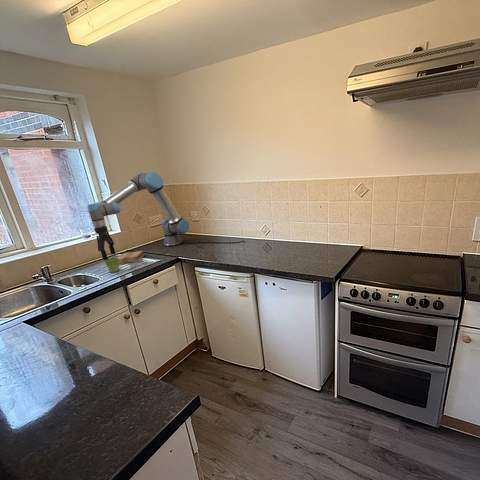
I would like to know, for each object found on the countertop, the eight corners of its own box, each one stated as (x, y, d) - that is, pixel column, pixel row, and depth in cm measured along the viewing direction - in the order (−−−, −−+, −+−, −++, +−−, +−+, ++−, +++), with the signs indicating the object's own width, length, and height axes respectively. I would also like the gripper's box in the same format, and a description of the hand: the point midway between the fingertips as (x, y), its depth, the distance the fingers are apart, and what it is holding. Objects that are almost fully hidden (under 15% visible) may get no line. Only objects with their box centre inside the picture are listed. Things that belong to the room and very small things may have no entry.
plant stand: (144, 255, 241) (143, 250, 239) (138, 261, 226) (137, 256, 224) (124, 258, 239) (123, 253, 238) (117, 264, 225) (115, 259, 223)
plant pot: (110, 269, 214) (107, 258, 211) (124, 267, 215) (120, 256, 211) (105, 274, 205) (100, 262, 202) (118, 272, 206) (114, 260, 203)
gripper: (102, 223, 210) (111, 252, 217) (85, 231, 186) (96, 263, 194) (113, 222, 210) (121, 251, 218) (97, 229, 187) (108, 261, 195)
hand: (109, 256), depth 206 cm, fingers open, 13 cm apart
